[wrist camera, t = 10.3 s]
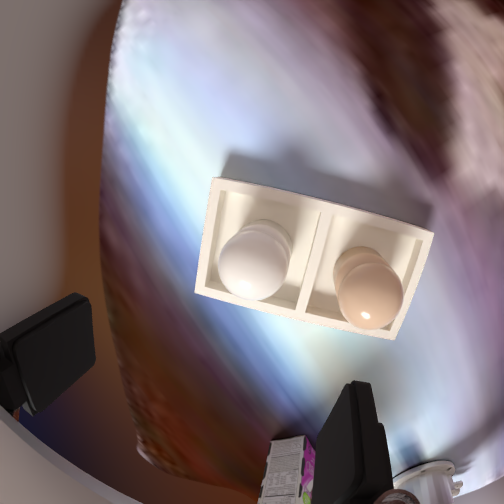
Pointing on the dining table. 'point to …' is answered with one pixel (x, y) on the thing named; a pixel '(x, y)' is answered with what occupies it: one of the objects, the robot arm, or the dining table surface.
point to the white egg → (256, 260)
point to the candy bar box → (288, 472)
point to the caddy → (308, 250)
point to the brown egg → (367, 288)
